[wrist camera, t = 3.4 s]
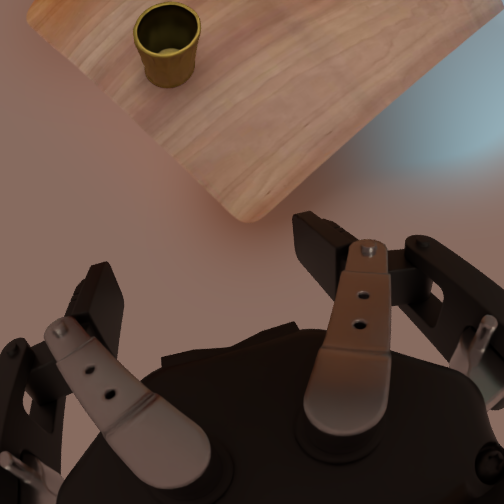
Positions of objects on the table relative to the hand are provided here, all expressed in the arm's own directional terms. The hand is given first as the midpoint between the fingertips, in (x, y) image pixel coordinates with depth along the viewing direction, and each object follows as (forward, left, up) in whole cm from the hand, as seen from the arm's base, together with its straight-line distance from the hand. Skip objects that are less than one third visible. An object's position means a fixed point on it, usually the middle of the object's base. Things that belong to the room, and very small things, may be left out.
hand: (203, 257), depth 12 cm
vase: (-2, +14, -26) cm, 29 cm away
